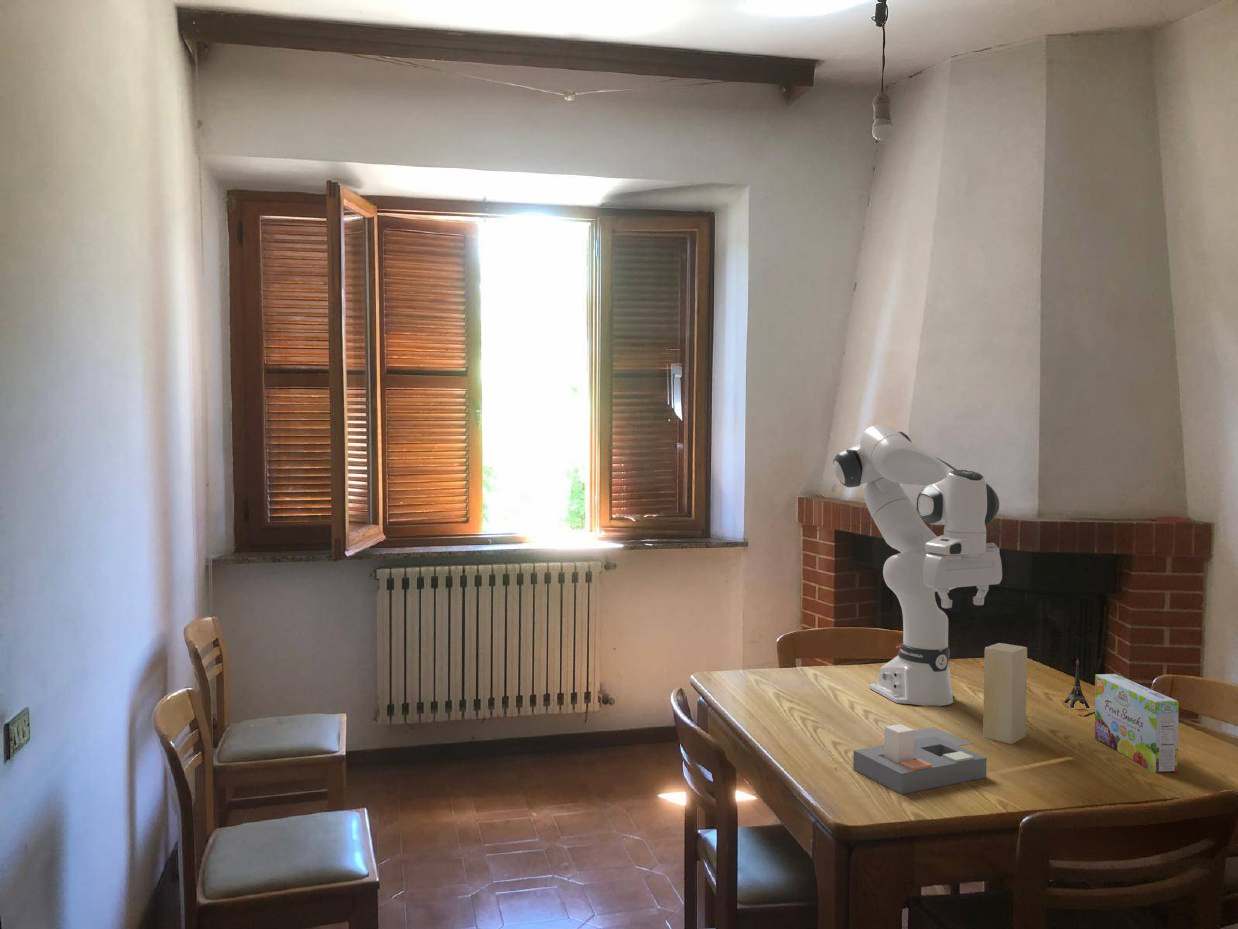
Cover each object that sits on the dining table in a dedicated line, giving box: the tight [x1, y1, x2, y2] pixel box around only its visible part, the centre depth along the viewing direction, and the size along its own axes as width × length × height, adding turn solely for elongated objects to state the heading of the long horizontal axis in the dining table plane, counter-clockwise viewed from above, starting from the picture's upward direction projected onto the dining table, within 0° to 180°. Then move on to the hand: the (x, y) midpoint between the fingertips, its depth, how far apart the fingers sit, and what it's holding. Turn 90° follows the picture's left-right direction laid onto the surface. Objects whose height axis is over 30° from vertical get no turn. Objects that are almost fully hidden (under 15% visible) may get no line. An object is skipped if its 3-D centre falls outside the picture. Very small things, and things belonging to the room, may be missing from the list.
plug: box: [883, 723, 915, 764], centre depth 183 cm, size 4×4×10 cm
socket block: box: [852, 736, 988, 795], centre depth 185 cm, size 14×22×4 cm, turn 115°
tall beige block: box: [982, 642, 1028, 745], centre depth 207 cm, size 8×7×21 cm
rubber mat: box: [913, 727, 974, 747], centre depth 205 cm, size 12×12×1 cm
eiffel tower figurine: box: [1063, 659, 1090, 708], centre depth 232 cm, size 15×10×13 cm
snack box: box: [1094, 673, 1180, 774], centre depth 197 cm, size 21×6×15 cm, turn 5°
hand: (962, 606), depth 202 cm, fingers open, 8 cm apart
